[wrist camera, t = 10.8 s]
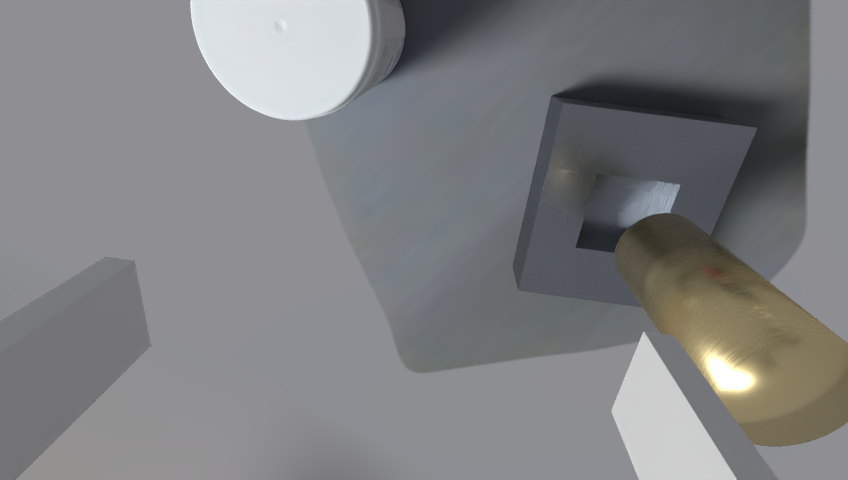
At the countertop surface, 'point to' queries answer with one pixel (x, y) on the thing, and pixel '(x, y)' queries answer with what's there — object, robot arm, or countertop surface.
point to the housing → (617, 189)
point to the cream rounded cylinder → (738, 331)
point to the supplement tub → (299, 50)
